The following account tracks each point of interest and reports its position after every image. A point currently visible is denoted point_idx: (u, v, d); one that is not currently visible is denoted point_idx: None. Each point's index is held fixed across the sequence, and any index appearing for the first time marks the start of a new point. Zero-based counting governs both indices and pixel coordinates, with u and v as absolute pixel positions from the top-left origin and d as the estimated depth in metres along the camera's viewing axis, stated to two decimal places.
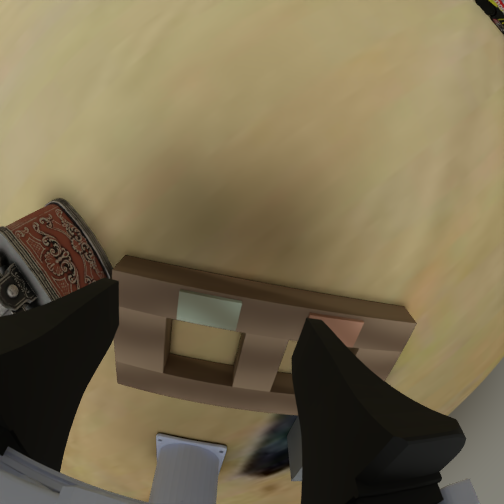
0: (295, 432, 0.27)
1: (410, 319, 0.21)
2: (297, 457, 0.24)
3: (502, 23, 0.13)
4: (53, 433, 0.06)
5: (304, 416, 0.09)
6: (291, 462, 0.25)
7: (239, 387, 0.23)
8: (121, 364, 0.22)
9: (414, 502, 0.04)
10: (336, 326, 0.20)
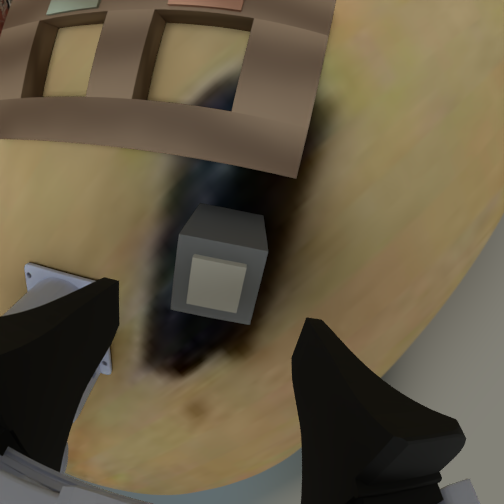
0: None
1: None
2: None
3: None
4: (53, 433, 0.06)
5: (304, 416, 0.09)
6: None
7: (94, 97, 0.14)
8: None
9: (414, 502, 0.04)
10: None
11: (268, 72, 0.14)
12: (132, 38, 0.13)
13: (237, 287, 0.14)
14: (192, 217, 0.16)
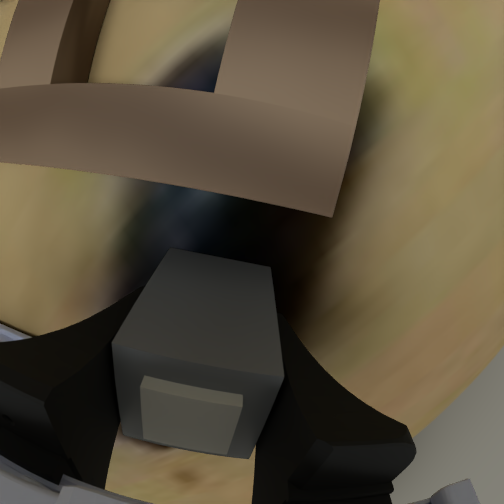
0: None
1: None
2: None
3: None
4: (101, 452, 0.06)
5: None
6: None
7: (4, 88, 0.07)
8: None
9: None
10: None
11: (282, 24, 0.07)
12: None
13: (226, 428, 0.07)
14: (148, 287, 0.09)
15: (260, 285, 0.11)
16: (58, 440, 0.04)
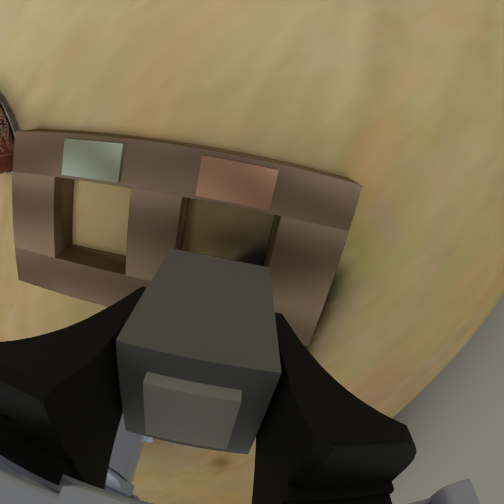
0: None
1: (353, 182, 0.17)
2: None
3: None
4: (101, 452, 0.06)
5: None
6: None
7: (134, 277, 0.18)
8: (19, 251, 0.18)
9: None
10: (239, 173, 0.16)
11: (291, 270, 0.18)
12: (163, 227, 0.17)
13: (226, 423, 0.07)
14: (150, 287, 0.09)
15: (259, 285, 0.11)
16: (58, 440, 0.04)
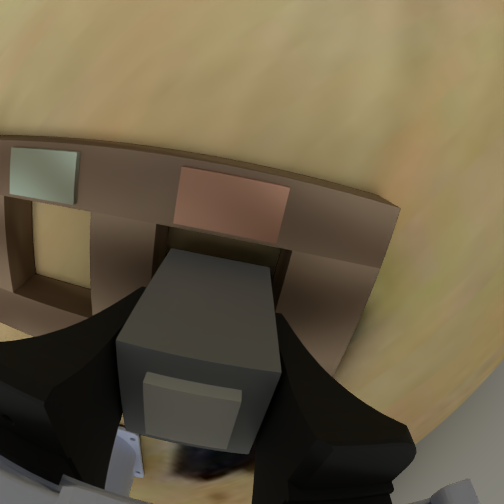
0: None
1: (388, 203, 0.12)
2: None
3: None
4: (101, 452, 0.06)
5: None
6: None
7: None
8: None
9: None
10: (235, 192, 0.11)
11: (304, 319, 0.14)
12: (134, 263, 0.13)
13: (226, 423, 0.07)
14: (150, 287, 0.09)
15: (259, 285, 0.11)
16: (58, 440, 0.04)
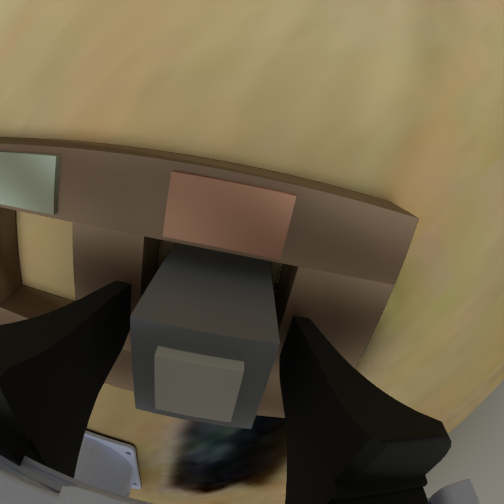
0: None
1: (405, 212, 0.11)
2: None
3: None
4: (68, 439, 0.06)
5: (289, 415, 0.09)
6: None
7: None
8: None
9: None
10: (233, 202, 0.10)
11: None
12: (121, 279, 0.11)
13: (230, 394, 0.08)
14: (159, 272, 0.10)
15: (259, 270, 0.12)
16: (16, 420, 0.04)
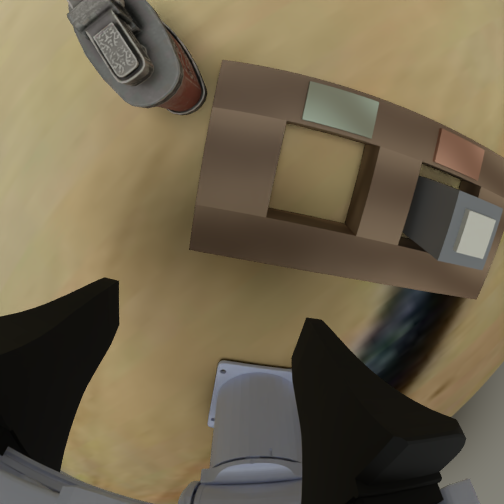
0: (414, 195, 0.18)
1: None
2: (436, 211, 0.15)
3: None
4: (53, 433, 0.06)
5: (304, 416, 0.09)
6: (424, 238, 0.16)
7: (365, 238, 0.18)
8: (203, 210, 0.17)
9: (414, 502, 0.04)
10: (464, 148, 0.15)
11: None
12: (403, 187, 0.17)
13: (488, 236, 0.14)
14: (435, 181, 0.16)
15: None
16: None
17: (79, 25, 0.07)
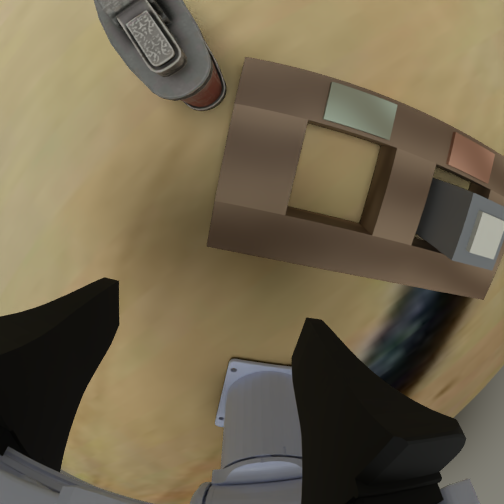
0: (427, 196, 0.18)
1: None
2: (450, 212, 0.15)
3: None
4: (53, 433, 0.06)
5: (304, 416, 0.09)
6: (437, 238, 0.16)
7: (380, 237, 0.18)
8: (222, 207, 0.17)
9: (414, 502, 0.04)
10: (475, 152, 0.15)
11: None
12: (418, 189, 0.17)
13: (498, 237, 0.14)
14: (448, 183, 0.16)
15: None
16: None
17: (110, 11, 0.07)
